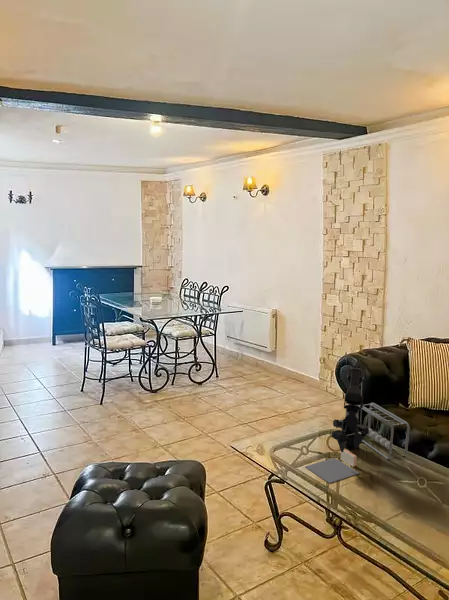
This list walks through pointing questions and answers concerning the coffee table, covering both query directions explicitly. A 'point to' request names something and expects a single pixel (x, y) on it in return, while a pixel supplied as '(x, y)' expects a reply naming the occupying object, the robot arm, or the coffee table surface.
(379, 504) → the coffee table surface
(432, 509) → the coffee table surface
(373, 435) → the newton's cradle
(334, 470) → the mat
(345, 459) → the tile
